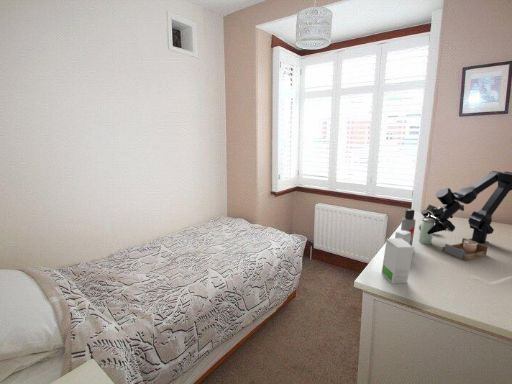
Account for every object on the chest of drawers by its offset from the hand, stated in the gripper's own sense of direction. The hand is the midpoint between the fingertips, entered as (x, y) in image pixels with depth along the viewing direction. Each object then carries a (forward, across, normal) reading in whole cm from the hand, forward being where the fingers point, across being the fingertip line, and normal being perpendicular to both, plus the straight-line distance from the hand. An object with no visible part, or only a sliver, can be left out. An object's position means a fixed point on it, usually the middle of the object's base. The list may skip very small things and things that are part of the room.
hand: (424, 231), depth 140 cm
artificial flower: (-8, -16, +18) cm, 25 cm away
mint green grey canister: (+4, 0, +6) cm, 7 cm away
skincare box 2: (+28, +31, -18) cm, 46 cm away
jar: (-6, +12, +15) cm, 20 cm away
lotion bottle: (+13, +4, -4) cm, 14 cm away
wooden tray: (-3, +13, +13) cm, 19 cm away
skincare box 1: (+19, +13, -9) cm, 25 cm away
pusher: (+1, +15, +7) cm, 17 cm away
